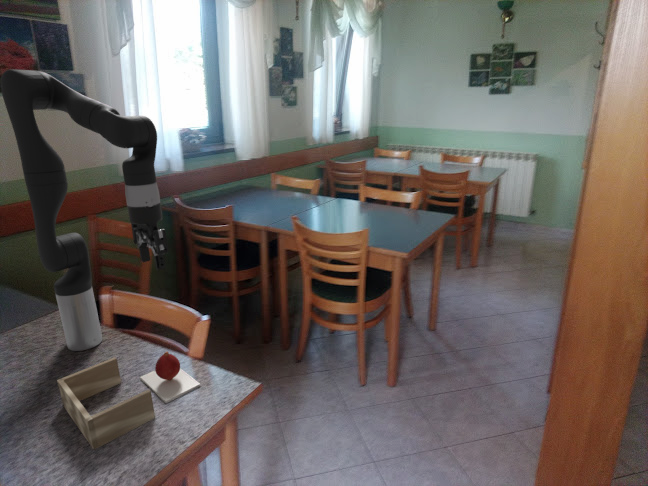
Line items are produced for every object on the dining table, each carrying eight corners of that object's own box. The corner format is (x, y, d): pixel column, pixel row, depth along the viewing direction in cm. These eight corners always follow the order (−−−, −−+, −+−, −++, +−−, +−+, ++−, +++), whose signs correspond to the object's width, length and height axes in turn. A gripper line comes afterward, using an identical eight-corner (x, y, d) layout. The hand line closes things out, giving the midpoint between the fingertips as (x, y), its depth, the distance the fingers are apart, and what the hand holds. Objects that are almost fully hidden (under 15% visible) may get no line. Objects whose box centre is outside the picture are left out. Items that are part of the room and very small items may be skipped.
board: (140, 379, 112) (140, 377, 112) (173, 364, 118) (173, 362, 118) (166, 403, 102) (165, 401, 102) (200, 385, 108) (200, 383, 108)
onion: (156, 388, 107) (152, 360, 104) (158, 375, 112) (153, 348, 110) (181, 384, 108) (177, 355, 106) (182, 371, 114) (178, 344, 111)
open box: (63, 405, 102) (57, 380, 100) (119, 381, 111) (115, 357, 109) (93, 449, 89) (87, 421, 87) (155, 417, 98) (150, 391, 96)
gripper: (116, 200, 108) (126, 262, 113) (141, 209, 98) (151, 276, 103) (146, 196, 113) (154, 255, 118) (172, 203, 103) (180, 267, 108)
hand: (153, 265), depth 110 cm, fingers open, 8 cm apart
